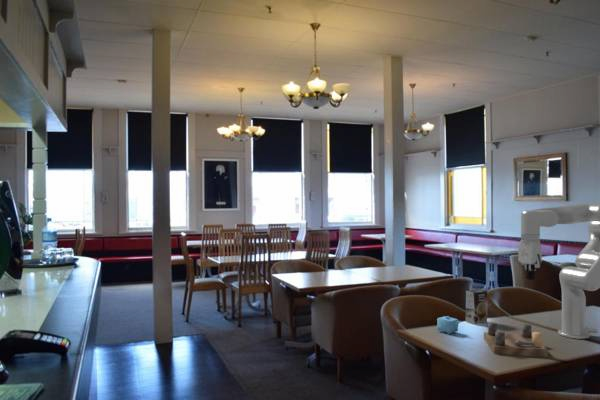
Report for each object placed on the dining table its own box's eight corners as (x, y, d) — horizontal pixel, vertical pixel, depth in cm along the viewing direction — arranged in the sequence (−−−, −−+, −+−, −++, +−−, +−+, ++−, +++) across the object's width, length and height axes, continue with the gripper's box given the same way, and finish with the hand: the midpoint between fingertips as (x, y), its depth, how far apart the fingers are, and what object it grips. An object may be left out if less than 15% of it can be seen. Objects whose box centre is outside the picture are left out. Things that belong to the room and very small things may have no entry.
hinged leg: (516, 345, 182) (516, 332, 182) (514, 342, 186) (514, 330, 186) (543, 347, 180) (543, 334, 180) (540, 344, 183) (541, 332, 183)
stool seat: (532, 341, 198) (532, 323, 198) (547, 357, 179) (547, 337, 179) (483, 338, 202) (484, 321, 202) (493, 353, 183) (494, 334, 183)
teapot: (464, 334, 209) (464, 318, 209) (457, 337, 205) (457, 320, 205) (441, 328, 218) (441, 313, 219) (434, 331, 215) (434, 315, 215)
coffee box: (475, 324, 225) (475, 292, 225) (465, 321, 231) (465, 290, 231) (487, 322, 230) (488, 291, 230) (477, 319, 235) (477, 288, 235)
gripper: (511, 237, 208) (511, 276, 208) (534, 239, 193) (534, 282, 193) (526, 236, 210) (526, 276, 209) (550, 239, 195) (549, 282, 195)
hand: (530, 279), depth 201 cm, fingers closed
